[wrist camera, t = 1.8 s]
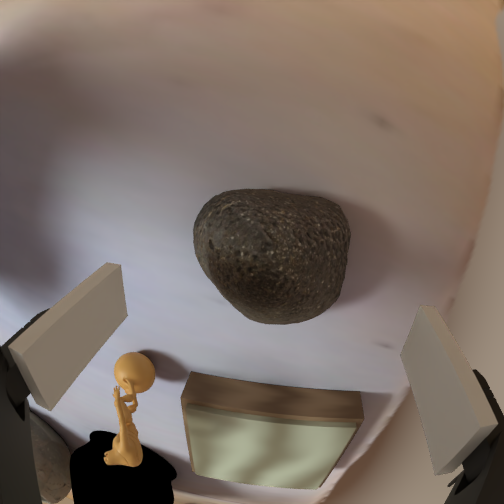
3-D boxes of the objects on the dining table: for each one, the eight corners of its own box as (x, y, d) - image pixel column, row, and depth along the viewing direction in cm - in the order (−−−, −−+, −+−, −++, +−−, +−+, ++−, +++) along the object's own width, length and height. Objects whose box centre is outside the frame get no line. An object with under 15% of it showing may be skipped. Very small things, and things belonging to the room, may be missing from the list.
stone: (340, 257, 25) (391, 188, 15) (303, 353, 21) (350, 334, 12) (232, 210, 26) (230, 124, 17) (183, 299, 23) (148, 244, 14)
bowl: (76, 469, 49) (53, 512, 35) (2, 410, 45) (-27, 449, 32) (97, 452, 40) (65, 513, 26) (0, 373, 37) (-43, 423, 23)
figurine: (120, 321, 26) (49, 414, 15) (181, 338, 25) (125, 450, 14) (129, 380, 29) (80, 465, 18) (181, 396, 28) (142, 492, 17)
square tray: (198, 451, 33) (191, 475, 29) (191, 371, 27) (178, 402, 23) (320, 466, 31) (320, 491, 28) (359, 391, 25) (365, 423, 22)
